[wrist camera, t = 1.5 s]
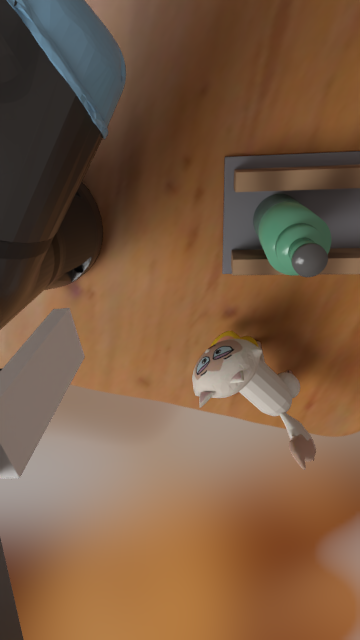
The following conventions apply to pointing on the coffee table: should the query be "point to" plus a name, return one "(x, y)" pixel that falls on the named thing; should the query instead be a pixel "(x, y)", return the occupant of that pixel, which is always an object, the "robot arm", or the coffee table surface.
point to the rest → (296, 180)
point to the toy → (251, 385)
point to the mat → (329, 204)
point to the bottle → (292, 236)
